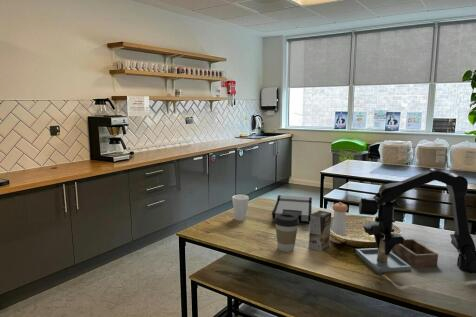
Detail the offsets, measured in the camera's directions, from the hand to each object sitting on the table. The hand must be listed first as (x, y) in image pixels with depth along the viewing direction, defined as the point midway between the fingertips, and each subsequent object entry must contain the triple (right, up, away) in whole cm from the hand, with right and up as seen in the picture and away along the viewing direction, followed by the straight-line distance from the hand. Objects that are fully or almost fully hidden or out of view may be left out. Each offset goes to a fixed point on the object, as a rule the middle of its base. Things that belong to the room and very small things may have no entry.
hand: (382, 251), depth 143 cm
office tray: (-28, +4, +59) cm, 65 cm away
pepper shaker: (-11, -1, +24) cm, 27 cm away
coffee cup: (-38, -3, +14) cm, 41 cm away
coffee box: (-23, -2, +17) cm, 28 cm away
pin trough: (+15, -5, +4) cm, 16 cm away
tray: (0, -5, +1) cm, 5 cm away
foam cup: (-59, +4, +53) cm, 80 cm away
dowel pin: (0, -4, +1) cm, 4 cm away
